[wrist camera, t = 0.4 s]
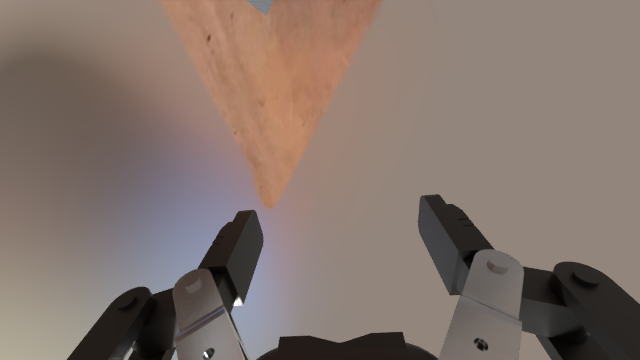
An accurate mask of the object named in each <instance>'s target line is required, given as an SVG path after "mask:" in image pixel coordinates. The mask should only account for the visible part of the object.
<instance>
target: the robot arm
mask: <svg viewBox="0 0 640 360" xmlns="http://www.w3.org/2000/svg"><path fill="white" fill-rule="evenodd" d="M418 227H419V232H420V235H421V237H422V239H423V241H424V243H425V245H426V247H427V249H428V252H429V253H430V256H431V258H432V260H433V262H434V263H435V266H436V268H437V270H438V272H439V274H440V276H441V278H442V280H443V282H444V284H445V286H446V288H447V290H448V292H449V294H450V295H460V297H459V300H458V302H457V305H456V308H455V311H454V315H453V318H452V320H451V323H450V326H449V329H448V332H447V335H446V338H445V341H444V344H443V347H442V350H441V353H440V355H439V358H436V357H435V356H434V355H433V354H431V353H429V352H428V351H426V350H424V349H422V348H420V347H418V346H415V345H412V344H409V343H405V340H404V336H403V332H390V333H389V332H388V333H370V334H367V335H364V336H361V337H358V338H355V339H352V340H349V341H346V342H343V343H336V342H333V341H328V340H324V339H320V338H316V337H312V336H291V337H290V336H289V337H280V340H279V346H278V348H275V349H273V350H271V351H269V352H267V353H265V354H264V355H262V356H260V357H259V358H258V359H257V360H518V359H519V350H520V341H521V332H522V331H525V332H529V333H533V334H535V335H536V337H537V338H538V340H539V341H540V343H541V344H542V346H543V347H544V349H545V350H546V352H547V353H548V355H549V356H550V358H551V359H552V360H640V304H639V303H637V302H636V301H635V300H634V299H633V298H632V297H631V296H630V295H629V294H627V293H626V292H625V291H624V290H623V289H622V288H621V287H619V286H618V285H617V284H616V283H615V282H614V281H613V280H612V279H610V278H609V277H608V276H606V275H605V274H603V273H602V272H600V271H598V270H596V269H594V268H592V267H590V266H587V265H584V264H580V263H576V262H561V263H558V264H557V265H556V266H555V267H554V270H553V272H551V271H545V270H539V269H533V268H528V267H523V266H522V265H521V264H520V263H519V262H518V261H517V260H516V259H515V258H513V257H511V256H510V255H508V254H506V253H504V252H501V251H497V250H495V249H494V248H493V247H492V246H491V245H490V243H489V242H488V241H487V240H486V239H485V237H484V236H483V235H482V234H481V232H480V231H479V230H478V229H477V228H476V226H474V224H473V223H472V222H471V220H469V218H468V217H467V215H466V214H465V213H464V212H463V210H461V209H459V208H458V207H456V206H455V205H453V204H446V203H445V201H444V200H443V199H442V198H441V196H440V195H438V194H436V195H425V196H421V197H420V205H419V217H418ZM262 246H263V233H262V230H261V227H260V223H259V220H258V217H257V214H256V212H255V210H246V211H239V212H238V213H237V214H236V217H235V218H234V220H233V222H228V223H227V224H226V225H225V226H224V227H223V228H222V229H221V230H220V231H219V233H218V235H217V236H216V239H215V240H214V242H213V244H212V245H211V247H210V248H209V250H208V252H207V254H206V255H205V257H204V258H203V260H202V262H201V264H200V265H199V267H198V269H195V270H192V271H190V272H188V273H187V274H185V275H184V276H182V277H181V278H180V279H179V280H178V281H177V283H176V284H175V286H174V288H171V289H168V290H165V291H162V292H159V293H156V294H153V295H152V293H151V292H150V290H149V289H148V288H146V287H137V288H134V289H131V290H129V291H127V292H125V293H123V294H122V295H120V296H119V297H118V298H116V299H115V300H114V301H113V302H112V303H111V304H110V305H109V307H108V308H107V309H106V311H105V312H104V313H103V314H102V316H101V317H100V318H99V319H98V321H97V322H96V323H95V324H94V326H93V327H92V328H91V330H90V331H89V332H88V333H87V335H86V336H85V337H84V338H83V340H82V341H81V342H80V343H79V345H78V346H77V347H76V349H75V350H74V351H73V352H72V354H71V355H70V356H69V357H68V359H67V360H123V359H124V358H125V356H126V355H127V353H128V351H129V350H130V348H131V347H132V348H133V349H134V350H133V352H132V354H131V355H130V357H129V359H128V360H171V358H172V356H173V354H174V351H175V349H176V351H177V357H178V360H250V358H249V356H248V354H247V351H246V349H245V347H244V344H243V342H242V339H241V337H240V334H239V332H238V330H237V328H236V325H235V322H234V320H233V317H232V315H231V310H232V308H233V306H237V305H243V304H244V301H245V298H246V295H247V292H248V289H249V286H250V283H251V280H252V277H253V274H254V271H255V268H256V265H257V261H258V258H259V255H260V253H261V250H262Z"/></svg>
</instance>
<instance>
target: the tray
mask: <svg viewBox="0 0 640 360" xmlns="http://www.w3.org/2000/svg"><path fill="white" fill-rule="evenodd" d="M246 1H248V2H249V3H250V4H252V5H253V6H254V7H256V8H257V9H258V10H260V11H261V12H262V13H264V14H265V15H267V13H268V11H269V9H270V7H271V5H272V2H273V0H246Z"/></svg>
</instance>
